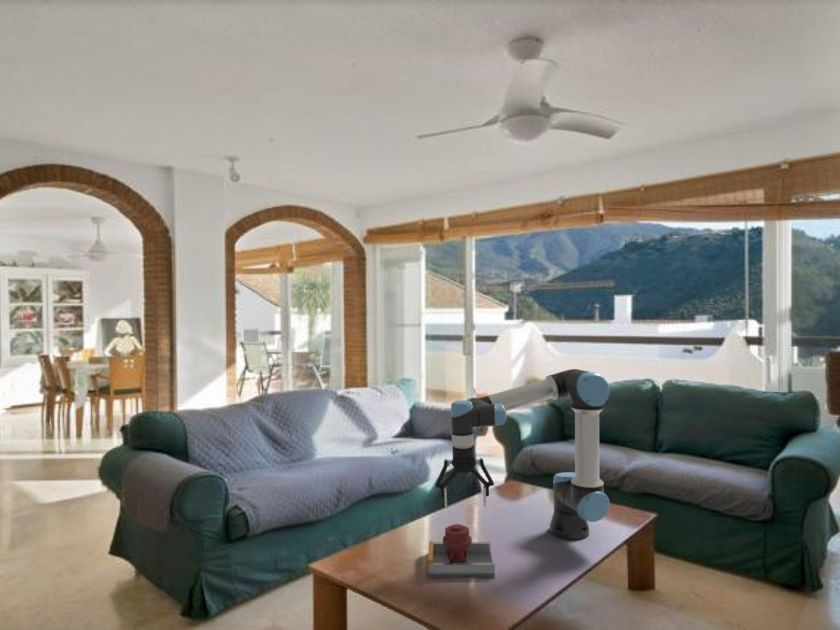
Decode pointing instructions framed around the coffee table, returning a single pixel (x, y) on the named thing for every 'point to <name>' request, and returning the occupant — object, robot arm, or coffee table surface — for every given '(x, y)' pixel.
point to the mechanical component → (457, 542)
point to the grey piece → (473, 567)
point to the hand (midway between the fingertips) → (465, 506)
